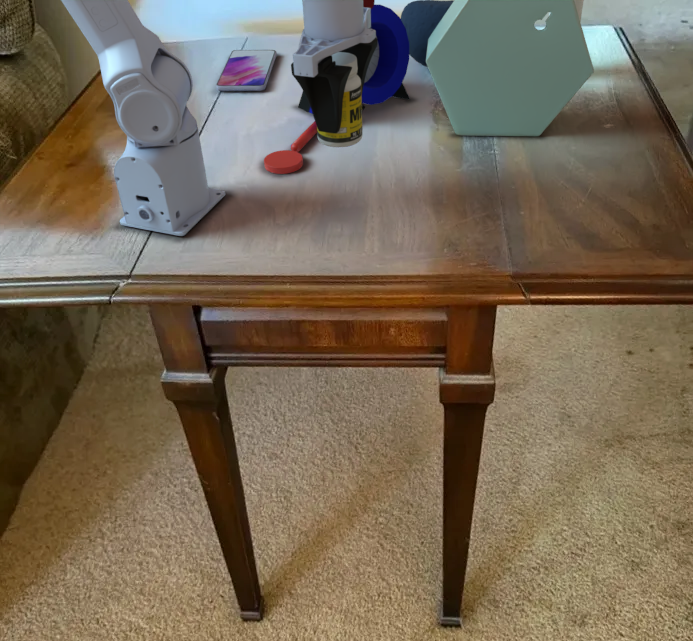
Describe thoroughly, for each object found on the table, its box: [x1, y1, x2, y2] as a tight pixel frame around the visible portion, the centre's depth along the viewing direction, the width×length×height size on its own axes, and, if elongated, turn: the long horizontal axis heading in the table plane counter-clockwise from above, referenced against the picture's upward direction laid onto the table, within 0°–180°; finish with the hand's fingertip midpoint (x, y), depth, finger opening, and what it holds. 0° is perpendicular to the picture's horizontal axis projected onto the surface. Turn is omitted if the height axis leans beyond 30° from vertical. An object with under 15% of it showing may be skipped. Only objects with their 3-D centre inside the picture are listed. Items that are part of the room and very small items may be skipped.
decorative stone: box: [400, 0, 454, 68], centre depth 110 cm, size 12×12×10 cm
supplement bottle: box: [316, 52, 363, 148], centre depth 77 cm, size 5×5×8 cm
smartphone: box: [215, 49, 278, 92], centre depth 114 cm, size 7×1×15 cm
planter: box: [426, 0, 595, 137], centre depth 92 cm, size 17×8×21 cm
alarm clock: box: [297, 0, 411, 115], centre depth 100 cm, size 12×12×15 cm
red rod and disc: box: [263, 120, 317, 175], centre depth 94 cm, size 13×5×1 cm, turn 158°
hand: (338, 120), depth 79 cm, fingers closed on supplement bottle, 5 cm apart
